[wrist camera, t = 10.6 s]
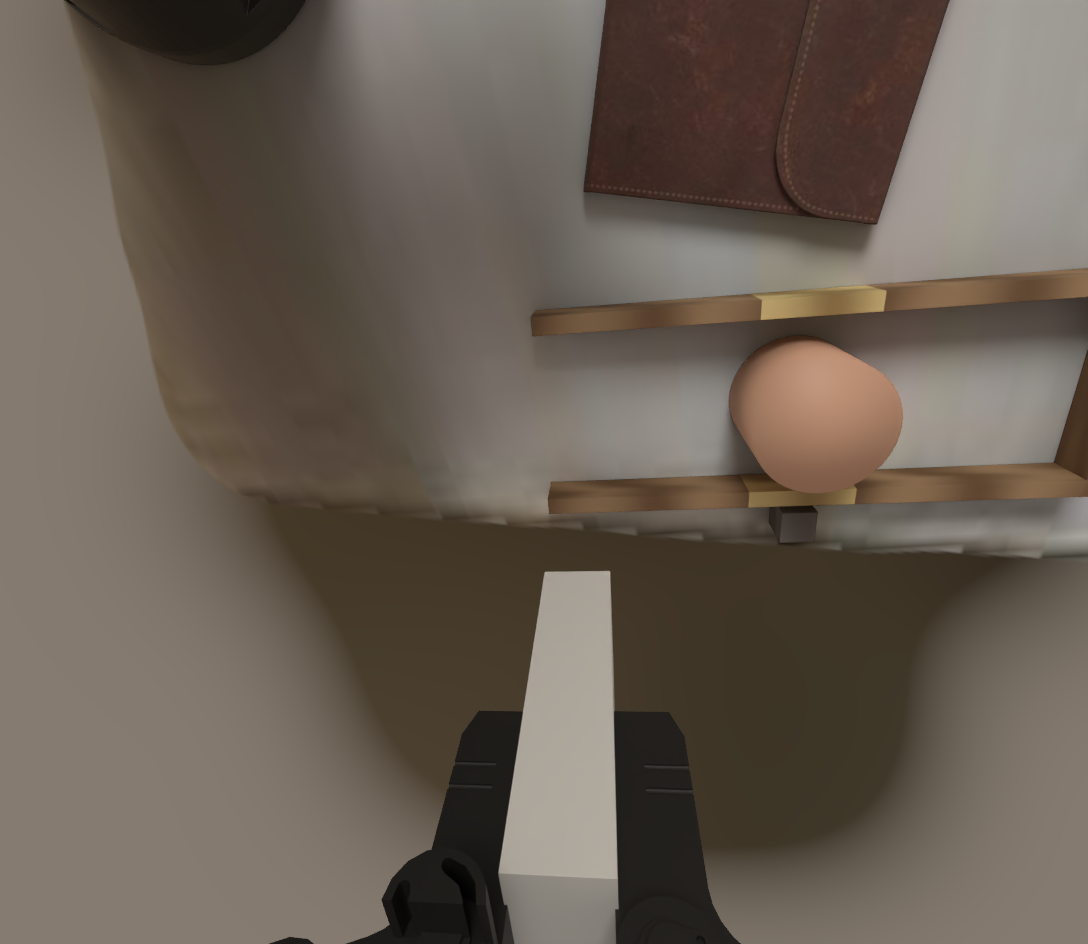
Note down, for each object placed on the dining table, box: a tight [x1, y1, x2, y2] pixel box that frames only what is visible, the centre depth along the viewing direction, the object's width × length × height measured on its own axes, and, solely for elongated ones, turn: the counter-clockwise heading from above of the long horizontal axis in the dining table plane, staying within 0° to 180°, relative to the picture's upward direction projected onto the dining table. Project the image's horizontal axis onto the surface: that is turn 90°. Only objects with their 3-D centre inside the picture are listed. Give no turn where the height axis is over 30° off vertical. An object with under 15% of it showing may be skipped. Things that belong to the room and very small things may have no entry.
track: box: [531, 268, 1088, 543], centre depth 33 cm, size 31×14×2 cm, turn 95°
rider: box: [729, 336, 903, 493], centre depth 31 cm, size 7×7×6 cm
